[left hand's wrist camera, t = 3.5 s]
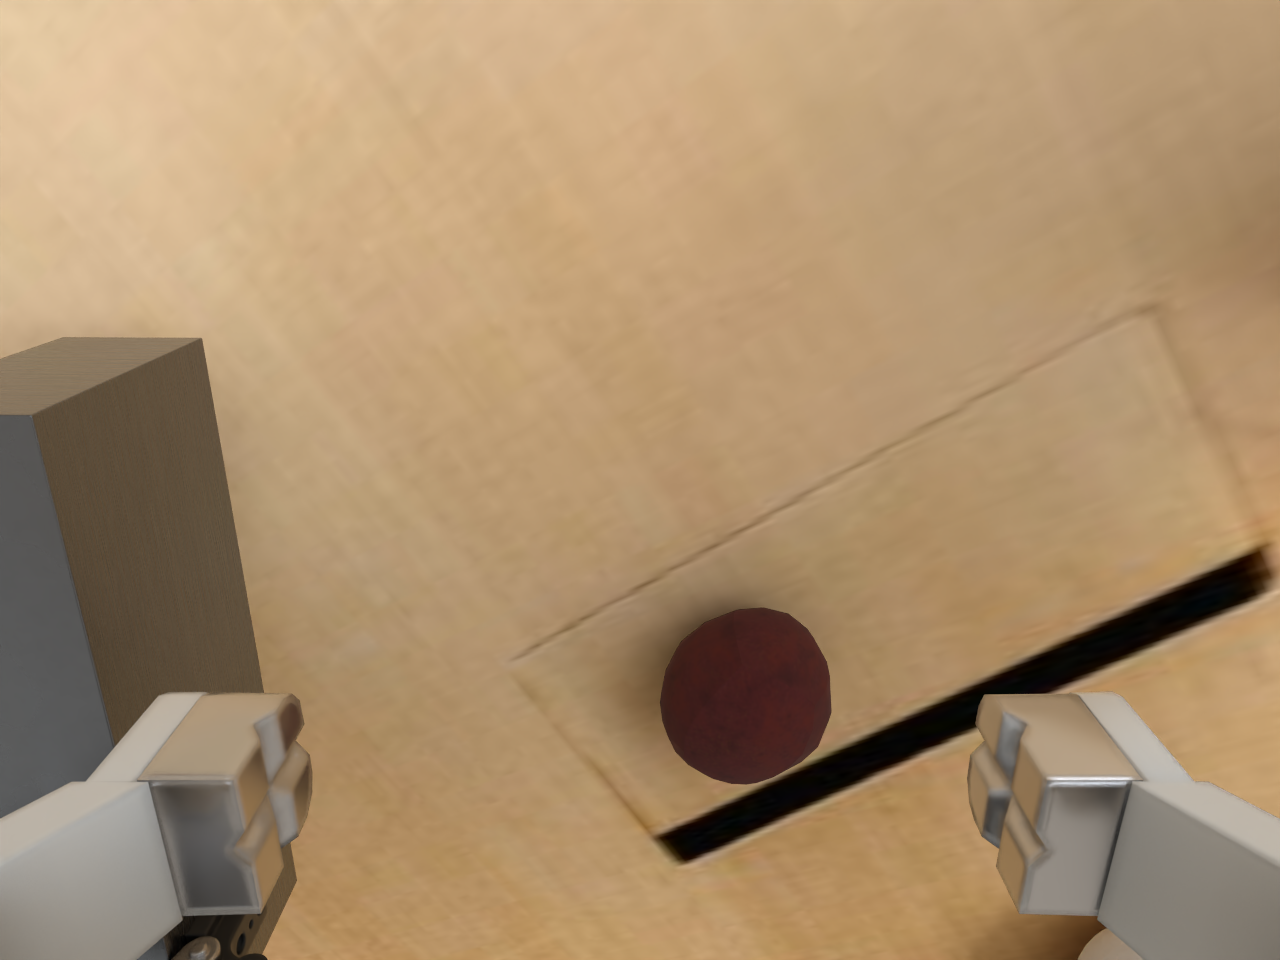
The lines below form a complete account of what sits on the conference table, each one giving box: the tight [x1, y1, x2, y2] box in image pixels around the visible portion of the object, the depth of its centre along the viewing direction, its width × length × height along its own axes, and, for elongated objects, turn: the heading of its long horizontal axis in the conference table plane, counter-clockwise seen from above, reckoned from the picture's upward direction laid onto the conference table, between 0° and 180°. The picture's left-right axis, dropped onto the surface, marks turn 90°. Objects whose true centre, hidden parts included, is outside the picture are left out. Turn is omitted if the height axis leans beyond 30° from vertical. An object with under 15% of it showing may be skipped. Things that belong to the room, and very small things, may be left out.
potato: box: [660, 608, 831, 784], centre depth 39 cm, size 7×8×7 cm
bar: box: [0, 337, 297, 960], centre depth 30 cm, size 23×5×9 cm, turn 0°
